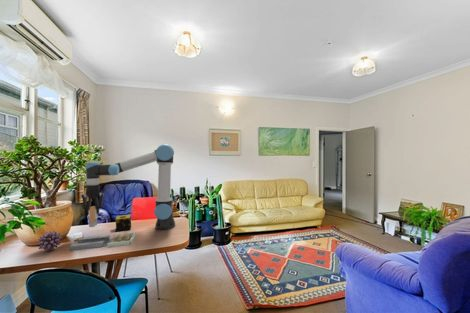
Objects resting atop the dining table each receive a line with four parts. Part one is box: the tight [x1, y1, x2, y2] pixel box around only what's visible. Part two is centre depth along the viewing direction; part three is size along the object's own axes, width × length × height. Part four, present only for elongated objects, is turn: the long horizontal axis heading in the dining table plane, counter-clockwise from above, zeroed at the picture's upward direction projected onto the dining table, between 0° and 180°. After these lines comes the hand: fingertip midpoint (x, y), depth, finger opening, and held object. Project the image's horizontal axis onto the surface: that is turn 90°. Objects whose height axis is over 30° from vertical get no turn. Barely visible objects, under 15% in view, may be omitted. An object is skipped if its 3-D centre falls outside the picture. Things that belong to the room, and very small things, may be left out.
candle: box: [115, 214, 132, 233], centre depth 162 cm, size 10×10×10 cm
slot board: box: [69, 234, 114, 252], centre depth 132 cm, size 20×14×4 cm
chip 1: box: [113, 233, 124, 242], centre depth 136 cm, size 4×4×4 cm
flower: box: [36, 230, 64, 253], centre depth 126 cm, size 12×12×12 cm
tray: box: [107, 232, 137, 248], centre depth 137 cm, size 13×16×3 cm
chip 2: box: [121, 233, 131, 242], centre depth 137 cm, size 4×4×4 cm
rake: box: [88, 205, 98, 228], centre depth 143 cm, size 3×6×13 cm, turn 16°
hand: (93, 218), depth 143 cm, fingers closed on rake, 3 cm apart
